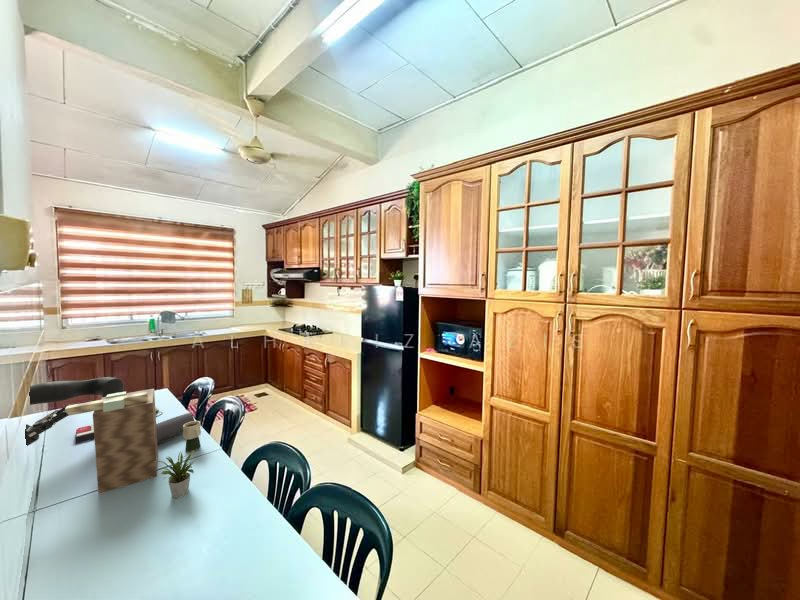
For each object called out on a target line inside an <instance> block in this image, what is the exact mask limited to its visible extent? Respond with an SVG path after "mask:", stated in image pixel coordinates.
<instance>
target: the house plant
mask: <svg viewBox="0 0 800 600" xmlns="http://www.w3.org/2000/svg"><path fill="white" fill-rule="evenodd" d="M195 451H197V450H196V449H195V450H194V451H190V453H189V454H188V456H187V454H185V455H184V456H183V453H182V452H183V451H180V452H179V453H178V456H177V457H178V458H177V461H176V462H174V460H173V458H172V457H170V456H167V457H165V458H166V460H167V461H168V462H169V464H170V465H168V464H167V463H166V462H164V461H162V460H158V461H154V462H158V463H162V464H164V465H165V466H163V467H161V468H160V469H159V471H160V470H163V471H162V472H161V473H160V475H169V476H168V483H167V484H168V486H169V490H170V494H171V497H172V498H174V499H177V498H178V499H179V498H182V497H184V496H185V495H187V494H188V493H189V489H190V481H191V473H192V474H194V472H195V471H194V469H193V467H192V465H193V464H194V461H192V462H190V461H191V460H193V459H194V458H195V457H196V456H194V457H192V455H193V453H194V452H195ZM186 456H187V457H186ZM185 457H186V458H185ZM191 457H192V458H191ZM183 458H185V460H184V462H183ZM188 462H190V463H188ZM168 468H169V469H168ZM190 468H191V469H190ZM166 478H167V477H163V478H162V480H164V479H166Z"/></svg>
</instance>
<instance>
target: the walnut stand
mask: <svg viewBox="0 0 800 600" xmlns="http://www.w3.org/2000/svg"><path fill="white" fill-rule="evenodd" d="M144 392H147V394H148V400H147V401H145V402H140V403H134V404H129V405H125V406H124V408H122V409H117V410H112V411H106V412H103V409H102V410H97V411H93V413H92V423H93V424H92V425H93V426H94V439H93V440H94V451H95V463H96V464H95V465H96V477H97V479H96V480H97V490H98V491H97V493H98V495H100V494H103V493H107V492H110V491H113V490H117V489H119V488H123V487H126V486H130V485H132V484H136V483H139V482H143V481H145V480H148V479H152V478H155V477H158V467H159V466H158V464H159V462H154V461H159V448H158V447H159V446H158V445H159V444H158V443H157V428H156V424H157V417H156V416H157V414H156V412H157V411H156V412H155V407H156V398H155V388H149V389H142V390H137V391H132V392H126V393H127V395H132V394H138V393H144ZM104 399H106V397H102V396H101V398H100V400H104Z"/></svg>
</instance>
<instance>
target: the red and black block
mask: <svg viewBox="0 0 800 600" xmlns="http://www.w3.org/2000/svg"><path fill="white" fill-rule="evenodd" d="M74 440H75V444H81V443H83V442H88V441H92V440H95V439H94V426H93V424H91V425H87V426H81V427H77V428H76V430H75V436H74Z"/></svg>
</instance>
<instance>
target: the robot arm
mask: <svg viewBox="0 0 800 600" xmlns="http://www.w3.org/2000/svg"><path fill="white" fill-rule="evenodd" d="M124 390H125V388H124V383H123V381H122V379H121V378H118V377H111V376H107V377H105V376H102V377H98V378H92V379H87V380H86V379H85V380H57V381H55V380H54V381H45V382H40V383H36V384H33V385H30V392H29V396H30V405H29V406H32V405H38V404H39V405H40V404H49V403H50V404H51V403H58V402H63V401H64V402H65V401H68V400H71V399H73V398H76V397H81V396H94V395H95V396H101V398H102V397H106V396H107V395H108V394H114V393H120V392H125V391H124ZM69 405H72V404H70V403H69V404H66V405H65V406H64V407H61V408H60V409H55V410H54V411H53V412H51V413H49V414H47V415H46V416H44V417H42V418H41V419H38V420H37V421H35V422H34V424H32V425H29V424H26V423H25V424H26V429H25V439H26V445H27V447H28V446H30V445H32V444H34V443H35V442H37V441H38V440H39V439H40V435H41V434H42V433H44V432H46V431H48V430H49V429H51V428H53V426H55V425H56V424H57V423H58V422H60V421H62V420H64V419H66V418H67V417H69V416H68V413H67V412H65V408H66V407H67V406H69Z"/></svg>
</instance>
